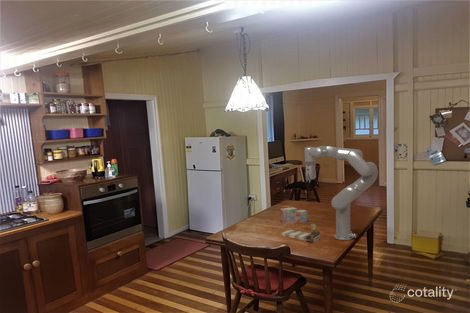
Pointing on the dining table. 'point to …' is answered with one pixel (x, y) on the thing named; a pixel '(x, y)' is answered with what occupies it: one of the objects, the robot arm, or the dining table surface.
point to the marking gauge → (312, 233)
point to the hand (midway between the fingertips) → (310, 186)
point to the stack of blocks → (293, 216)
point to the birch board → (299, 235)
